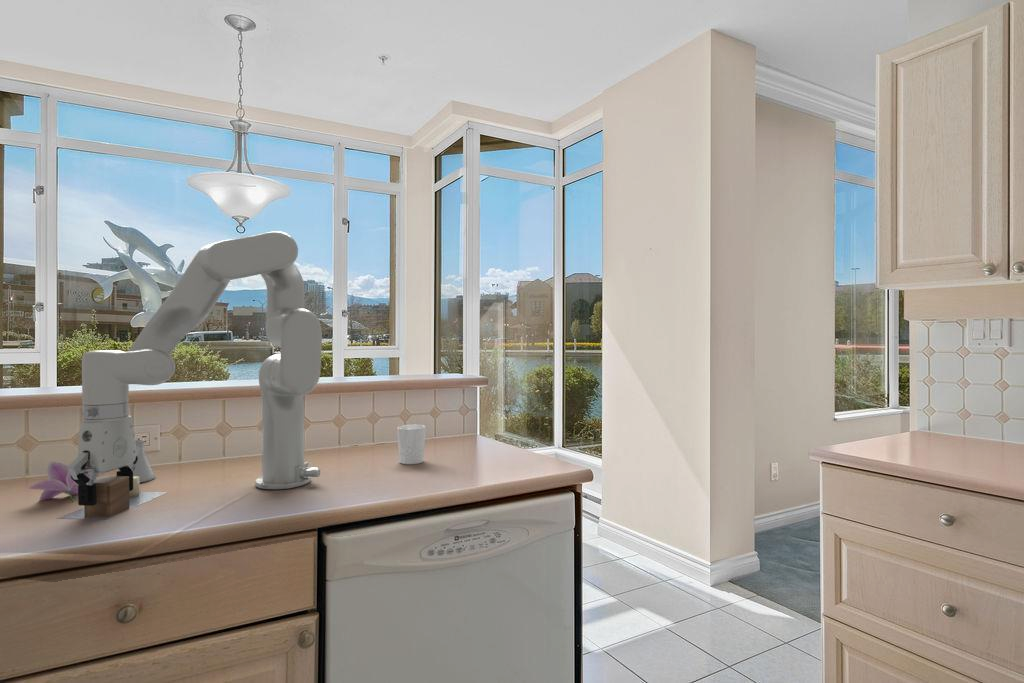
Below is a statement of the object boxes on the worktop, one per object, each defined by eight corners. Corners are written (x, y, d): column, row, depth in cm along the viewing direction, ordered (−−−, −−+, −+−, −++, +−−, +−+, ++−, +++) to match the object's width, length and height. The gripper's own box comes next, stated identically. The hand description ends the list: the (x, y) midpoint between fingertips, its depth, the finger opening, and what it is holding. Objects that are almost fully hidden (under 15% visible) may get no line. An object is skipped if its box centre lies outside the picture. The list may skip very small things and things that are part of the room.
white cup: (431, 460, 161) (431, 426, 161) (412, 466, 155) (412, 430, 154) (410, 457, 165) (410, 423, 165) (391, 462, 159) (391, 427, 159)
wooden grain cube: (129, 508, 115) (129, 476, 115) (110, 516, 110) (109, 483, 110) (104, 507, 115) (104, 475, 115) (84, 516, 110) (84, 482, 110)
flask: (137, 485, 135) (136, 444, 135) (111, 483, 136) (111, 442, 136) (161, 477, 142) (161, 438, 142) (137, 476, 143) (137, 437, 143)
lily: (113, 499, 128) (101, 460, 130) (98, 491, 118) (85, 449, 119) (49, 523, 122) (37, 482, 124) (28, 518, 112) (15, 473, 114)
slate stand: (167, 495, 126) (167, 474, 126) (106, 523, 108) (106, 498, 108) (125, 495, 127) (124, 473, 127) (56, 522, 109) (56, 497, 109)
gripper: (89, 419, 103) (90, 511, 104) (154, 406, 121) (154, 485, 121) (50, 418, 104) (51, 511, 104) (120, 406, 121) (121, 485, 121)
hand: (107, 497), depth 112 cm, fingers open, 9 cm apart
